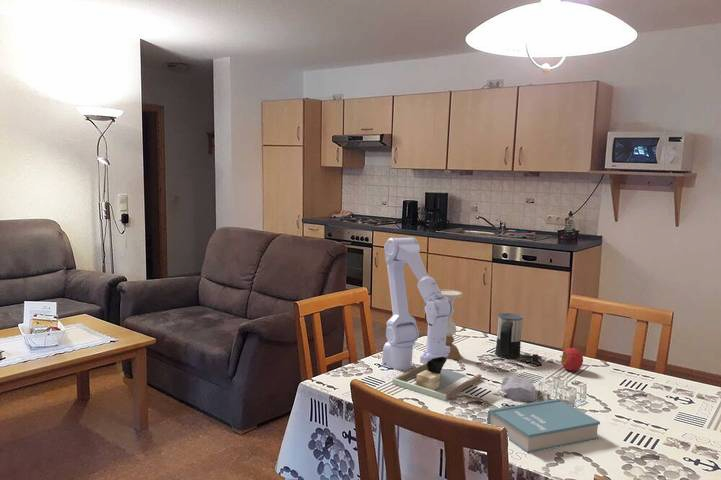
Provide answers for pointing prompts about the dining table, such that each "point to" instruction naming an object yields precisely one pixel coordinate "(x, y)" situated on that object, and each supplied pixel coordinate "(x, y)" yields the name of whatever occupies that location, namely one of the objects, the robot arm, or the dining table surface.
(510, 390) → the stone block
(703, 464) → the dining table surface
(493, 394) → the dining table surface
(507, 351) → the milk frother
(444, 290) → the candle holder
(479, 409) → the dining table surface
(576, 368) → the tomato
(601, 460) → the dining table surface
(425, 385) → the maple block
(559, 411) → the book
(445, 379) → the box
